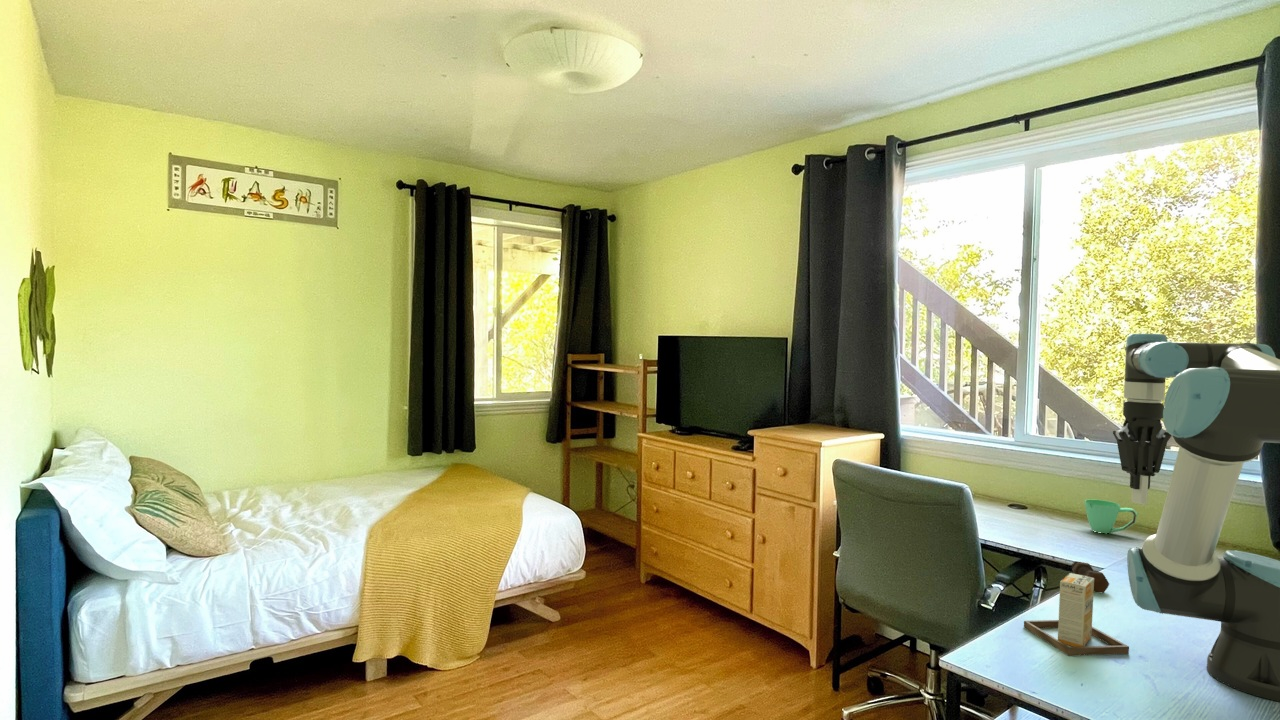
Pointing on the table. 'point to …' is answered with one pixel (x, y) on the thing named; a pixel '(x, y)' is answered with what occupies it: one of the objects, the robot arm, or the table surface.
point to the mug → (1106, 515)
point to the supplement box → (1075, 610)
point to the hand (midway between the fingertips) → (1139, 503)
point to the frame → (1115, 647)
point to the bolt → (1091, 575)
